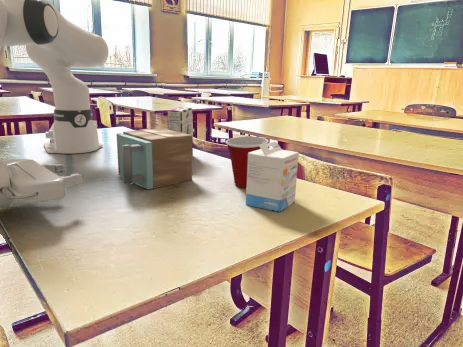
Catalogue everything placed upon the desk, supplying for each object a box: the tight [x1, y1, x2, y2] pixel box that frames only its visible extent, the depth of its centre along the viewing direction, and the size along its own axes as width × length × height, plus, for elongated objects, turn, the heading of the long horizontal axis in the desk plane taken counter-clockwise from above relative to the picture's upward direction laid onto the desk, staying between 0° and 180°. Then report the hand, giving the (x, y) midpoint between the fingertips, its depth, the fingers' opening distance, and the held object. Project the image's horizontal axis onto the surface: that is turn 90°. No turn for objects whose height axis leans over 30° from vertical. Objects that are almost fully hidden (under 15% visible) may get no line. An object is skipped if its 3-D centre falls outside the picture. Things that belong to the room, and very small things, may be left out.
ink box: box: [245, 141, 300, 213], centre depth 78 cm, size 9×8×13 cm
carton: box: [122, 128, 193, 189], centre depth 95 cm, size 14×12×12 cm
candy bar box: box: [166, 106, 194, 156], centre depth 117 cm, size 11×5×16 cm, turn 168°
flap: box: [116, 132, 154, 190], centre depth 89 cm, size 16×6×11 cm, turn 43°
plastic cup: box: [225, 135, 270, 189], centre depth 91 cm, size 11×11×12 cm
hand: (72, 172), depth 75 cm, fingers open, 8 cm apart
